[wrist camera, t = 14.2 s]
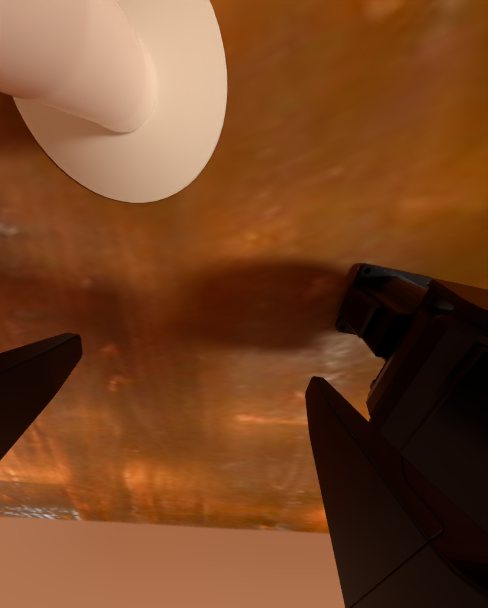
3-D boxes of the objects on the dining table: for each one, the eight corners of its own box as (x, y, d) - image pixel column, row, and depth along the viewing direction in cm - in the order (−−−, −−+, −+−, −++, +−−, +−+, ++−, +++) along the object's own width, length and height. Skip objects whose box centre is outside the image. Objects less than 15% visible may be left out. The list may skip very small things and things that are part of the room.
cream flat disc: (247, -55, 12) (247, -61, 12) (211, 219, 18) (210, 220, 18) (-31, -136, 11) (-38, -144, 11) (26, 180, 17) (23, 180, 17)
